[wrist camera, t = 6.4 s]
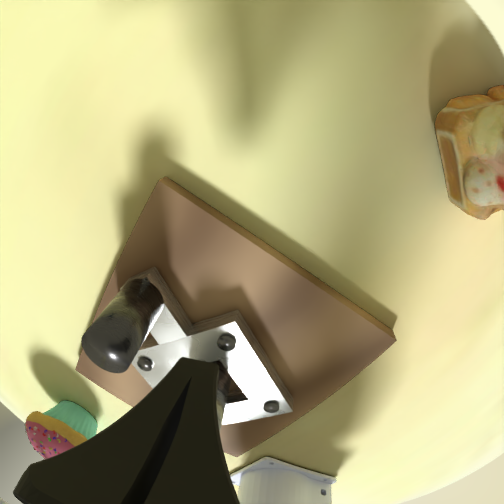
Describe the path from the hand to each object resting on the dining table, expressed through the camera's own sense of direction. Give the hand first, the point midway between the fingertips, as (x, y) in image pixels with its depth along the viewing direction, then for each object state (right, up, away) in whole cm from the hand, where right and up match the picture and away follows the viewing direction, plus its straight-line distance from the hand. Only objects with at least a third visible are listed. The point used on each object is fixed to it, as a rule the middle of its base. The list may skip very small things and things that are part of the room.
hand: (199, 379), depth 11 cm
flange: (-2, -2, +8) cm, 8 cm away
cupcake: (-17, -13, +16) cm, 27 cm away
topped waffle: (+14, +10, +2) cm, 18 cm away
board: (-1, -3, +10) cm, 10 cm away
